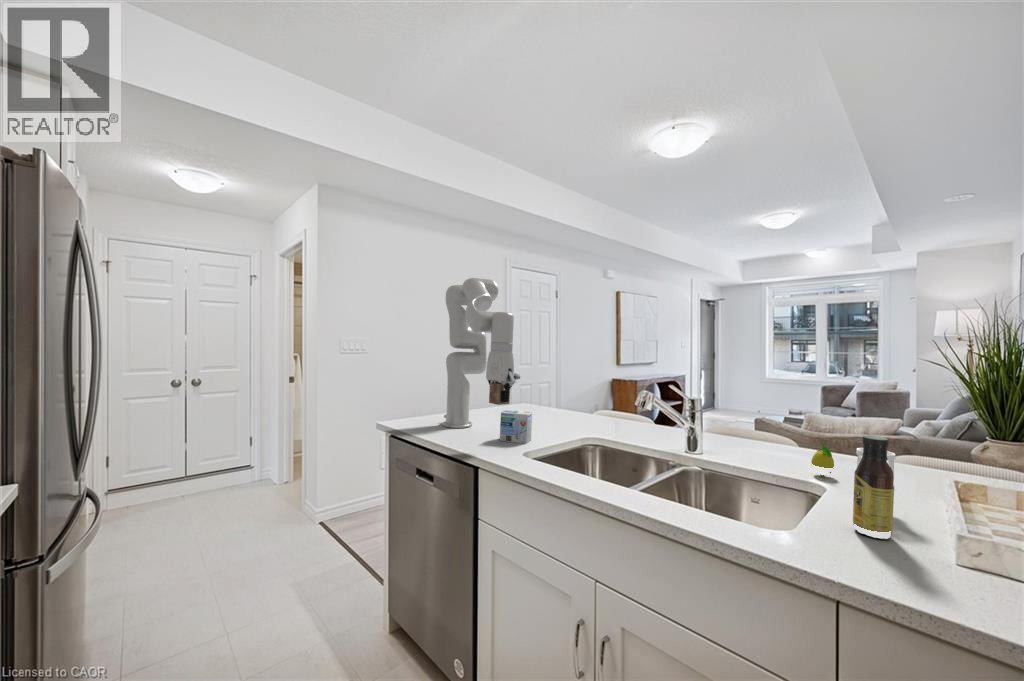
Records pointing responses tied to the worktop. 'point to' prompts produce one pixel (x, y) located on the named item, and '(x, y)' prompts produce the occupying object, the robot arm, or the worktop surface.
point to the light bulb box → (516, 426)
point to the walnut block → (496, 393)
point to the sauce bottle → (874, 487)
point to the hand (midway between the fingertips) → (499, 400)
